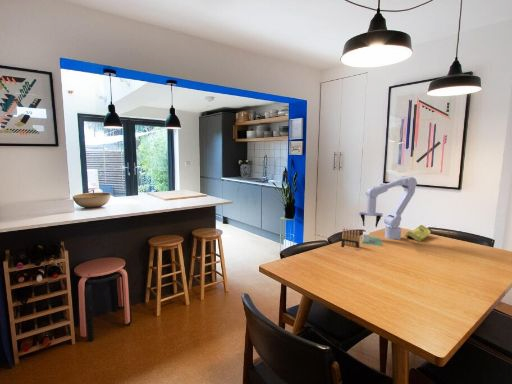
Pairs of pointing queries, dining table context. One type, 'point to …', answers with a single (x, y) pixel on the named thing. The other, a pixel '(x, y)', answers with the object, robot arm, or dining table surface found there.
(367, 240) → the plug housing
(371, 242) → the header board
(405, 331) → the dining table surface
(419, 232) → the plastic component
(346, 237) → the ammunition clip
